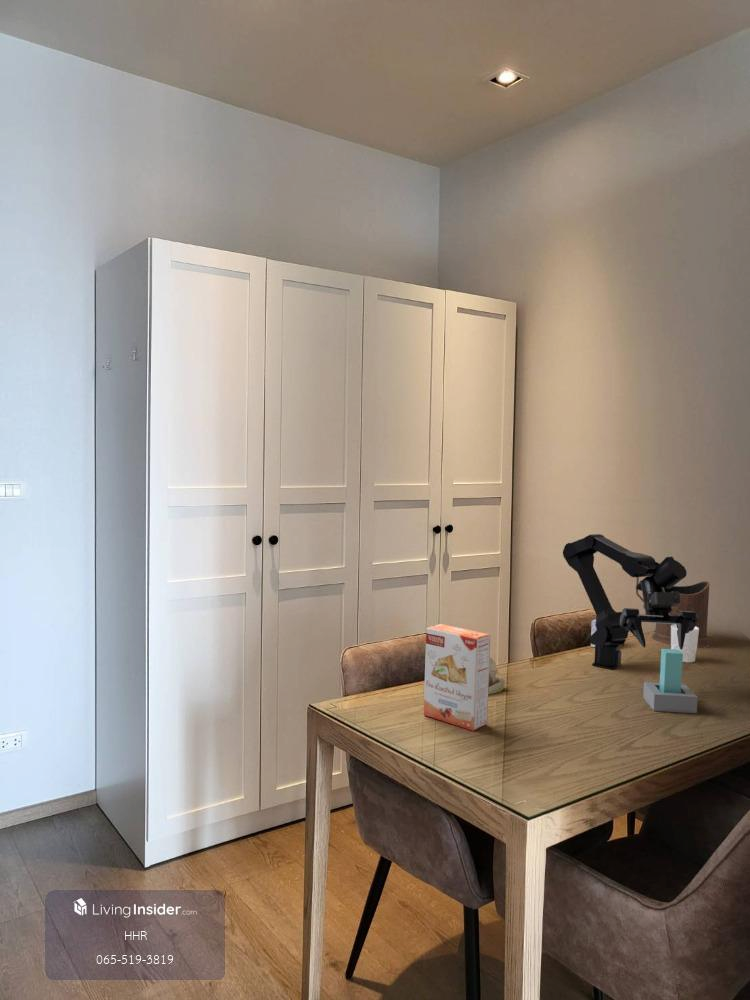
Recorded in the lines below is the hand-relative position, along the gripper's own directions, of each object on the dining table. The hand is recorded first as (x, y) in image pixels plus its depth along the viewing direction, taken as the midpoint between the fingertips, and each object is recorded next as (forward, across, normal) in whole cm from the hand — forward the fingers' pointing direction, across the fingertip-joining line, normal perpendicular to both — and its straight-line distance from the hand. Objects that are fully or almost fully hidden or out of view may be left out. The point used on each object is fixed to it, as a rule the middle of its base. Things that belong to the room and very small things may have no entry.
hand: (663, 647), depth 196 cm
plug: (+14, 0, +3) cm, 14 cm away
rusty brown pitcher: (-34, +19, +52) cm, 66 cm away
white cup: (-18, +16, +36) cm, 43 cm away
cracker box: (+29, -52, -11) cm, 61 cm away
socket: (+14, 0, +3) cm, 15 cm away
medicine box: (-26, -5, +44) cm, 52 cm away
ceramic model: (+11, -47, +7) cm, 49 cm away
